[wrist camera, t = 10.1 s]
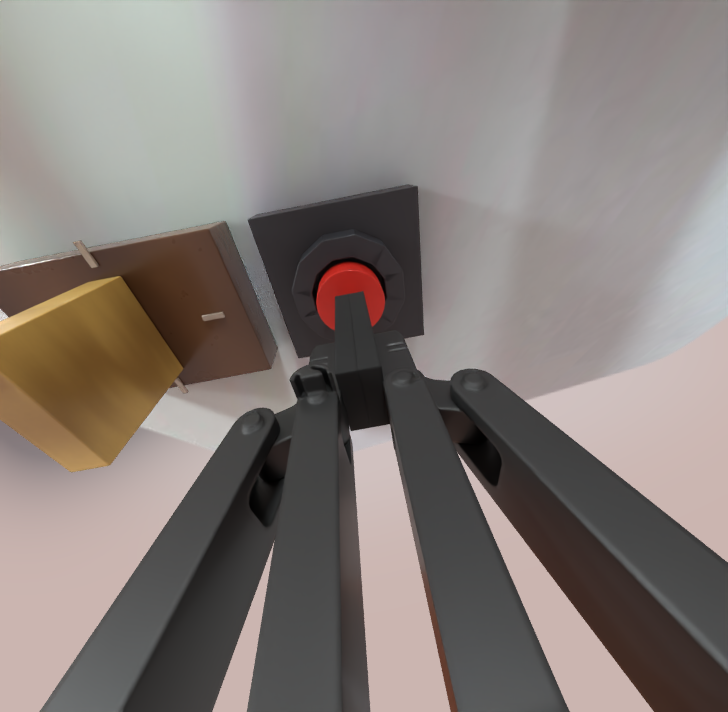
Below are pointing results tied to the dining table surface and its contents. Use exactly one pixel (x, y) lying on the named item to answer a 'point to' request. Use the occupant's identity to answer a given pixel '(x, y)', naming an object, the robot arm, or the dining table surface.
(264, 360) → the panel
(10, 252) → the dining table surface
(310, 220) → the button box
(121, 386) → the lock handle
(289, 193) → the dining table surface
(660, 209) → the dining table surface
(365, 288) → the button
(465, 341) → the dining table surface
